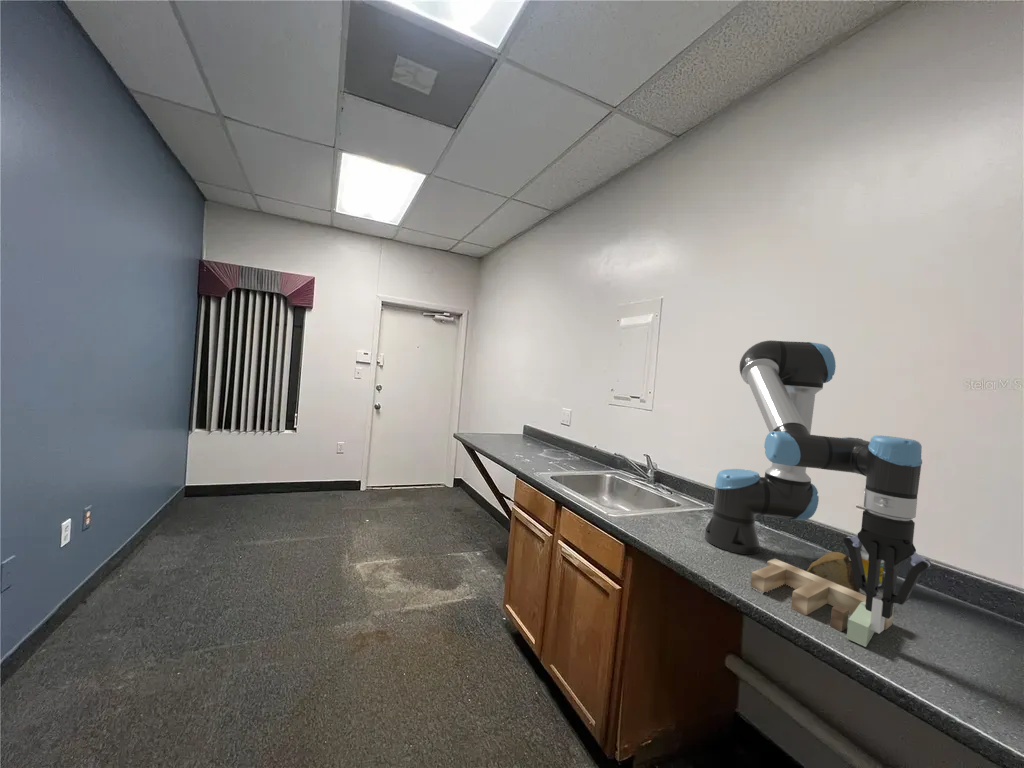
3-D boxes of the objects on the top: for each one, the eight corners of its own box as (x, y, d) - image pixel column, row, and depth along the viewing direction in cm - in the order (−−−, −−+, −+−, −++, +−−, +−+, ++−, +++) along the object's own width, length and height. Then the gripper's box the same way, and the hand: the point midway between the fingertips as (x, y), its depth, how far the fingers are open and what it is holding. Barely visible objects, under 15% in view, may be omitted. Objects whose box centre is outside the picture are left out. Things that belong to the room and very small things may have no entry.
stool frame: (743, 584, 99) (745, 569, 99) (773, 572, 107) (774, 558, 107) (867, 645, 78) (869, 625, 78) (891, 624, 86) (894, 607, 86)
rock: (792, 568, 105) (833, 583, 96) (805, 541, 108) (846, 552, 98) (816, 590, 107) (858, 607, 98) (828, 563, 110) (870, 577, 100)
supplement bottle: (858, 574, 110) (862, 541, 109) (884, 584, 105) (888, 549, 105) (851, 579, 107) (855, 544, 106) (878, 589, 102) (882, 553, 102)
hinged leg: (860, 618, 88) (862, 597, 87) (878, 625, 85) (880, 603, 85) (846, 638, 80) (848, 615, 80) (865, 647, 77) (868, 623, 77)
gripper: (840, 505, 82) (829, 616, 83) (929, 529, 71) (916, 656, 72) (854, 501, 86) (844, 607, 87) (940, 523, 75) (927, 644, 76)
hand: (876, 629), depth 79 cm, fingers closed
